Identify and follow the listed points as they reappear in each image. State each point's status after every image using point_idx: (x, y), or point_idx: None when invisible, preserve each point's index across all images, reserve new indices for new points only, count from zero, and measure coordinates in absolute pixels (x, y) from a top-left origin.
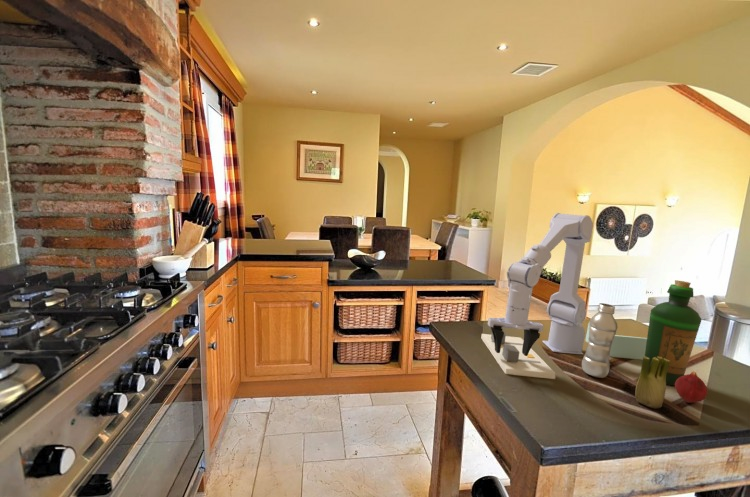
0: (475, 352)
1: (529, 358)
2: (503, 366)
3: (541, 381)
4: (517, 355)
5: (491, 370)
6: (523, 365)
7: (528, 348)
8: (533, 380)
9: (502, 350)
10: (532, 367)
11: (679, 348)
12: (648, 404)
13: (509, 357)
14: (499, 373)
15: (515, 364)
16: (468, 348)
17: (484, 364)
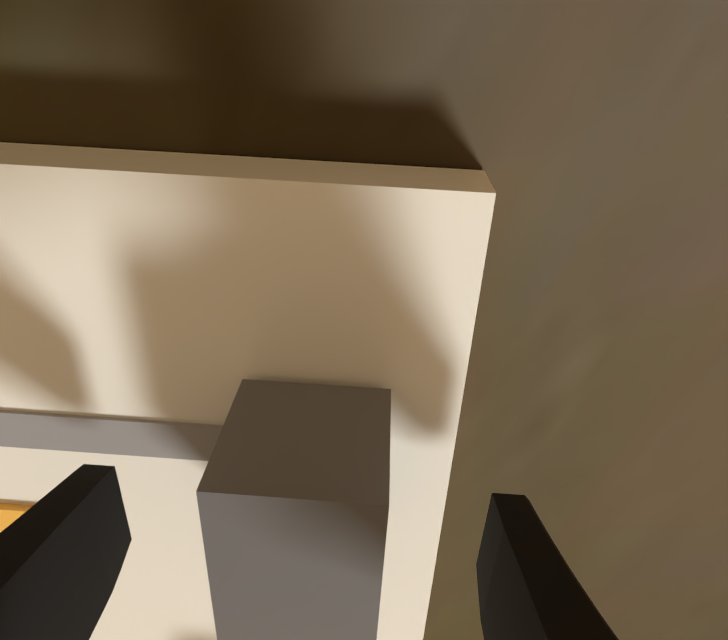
0: (590, 581)
1: None
2: (475, 288)
3: (20, 27)
4: (238, 445)
5: (638, 239)
6: (184, 322)
7: (6, 558)
8: (132, 39)
9: None
10: (69, 285)
11: None
12: None
13: (362, 421)
14: (566, 172)
15: (290, 335)
16: (620, 634)
17: (642, 371)
